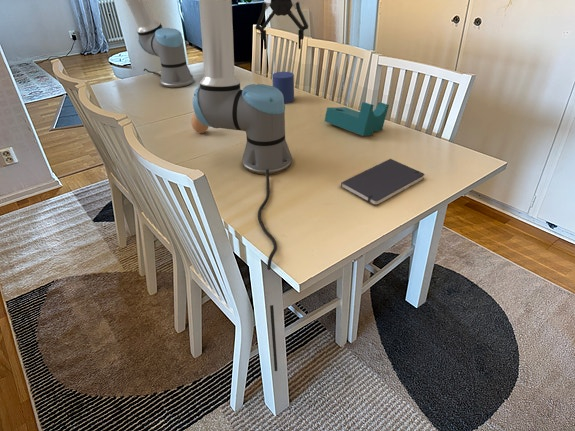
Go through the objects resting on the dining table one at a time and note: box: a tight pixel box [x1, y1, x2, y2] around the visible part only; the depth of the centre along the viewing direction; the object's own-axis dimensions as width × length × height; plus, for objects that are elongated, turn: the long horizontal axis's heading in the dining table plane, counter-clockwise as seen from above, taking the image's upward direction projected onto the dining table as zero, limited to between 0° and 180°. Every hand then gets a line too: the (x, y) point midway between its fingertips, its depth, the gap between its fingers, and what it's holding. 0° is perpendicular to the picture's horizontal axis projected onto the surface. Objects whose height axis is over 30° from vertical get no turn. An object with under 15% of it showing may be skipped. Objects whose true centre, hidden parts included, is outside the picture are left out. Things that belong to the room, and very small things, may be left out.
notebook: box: [340, 158, 425, 206], centre depth 114 cm, size 13×2×21 cm
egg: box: [190, 112, 209, 134], centre depth 143 cm, size 6×6×8 cm
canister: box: [271, 71, 295, 105], centre depth 168 cm, size 9×9×11 cm
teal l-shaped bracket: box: [324, 101, 390, 137], centre depth 144 cm, size 18×11×10 cm, turn 43°
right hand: (282, 48), depth 160 cm, fingers open, 13 cm apart
